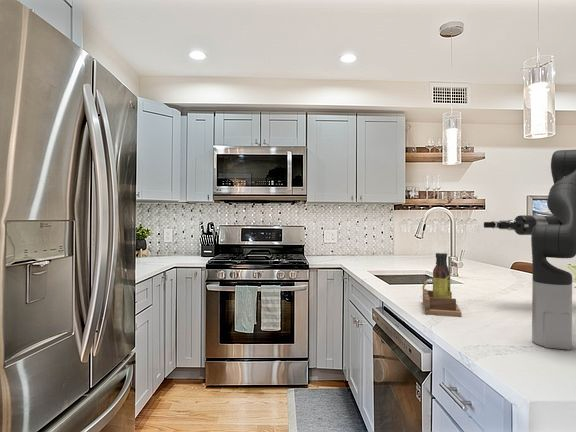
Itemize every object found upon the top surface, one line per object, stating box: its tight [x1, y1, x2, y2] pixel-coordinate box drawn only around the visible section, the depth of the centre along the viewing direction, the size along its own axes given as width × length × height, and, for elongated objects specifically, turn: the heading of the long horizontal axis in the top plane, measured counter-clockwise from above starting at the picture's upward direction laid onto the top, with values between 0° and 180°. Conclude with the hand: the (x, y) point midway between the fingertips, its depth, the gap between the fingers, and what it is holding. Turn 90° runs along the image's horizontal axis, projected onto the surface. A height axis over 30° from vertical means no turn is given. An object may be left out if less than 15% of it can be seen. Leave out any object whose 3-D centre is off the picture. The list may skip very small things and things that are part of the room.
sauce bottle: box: [432, 252, 451, 298], centre depth 149 cm, size 7×6×20 cm
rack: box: [422, 288, 462, 318], centre depth 150 cm, size 20×12×6 cm, turn 164°
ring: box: [422, 278, 433, 290], centre depth 171 cm, size 7×3×8 cm, turn 58°
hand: (491, 225), depth 149 cm, fingers open, 8 cm apart
